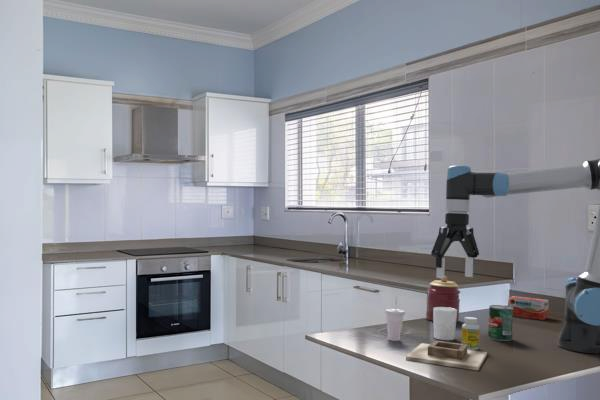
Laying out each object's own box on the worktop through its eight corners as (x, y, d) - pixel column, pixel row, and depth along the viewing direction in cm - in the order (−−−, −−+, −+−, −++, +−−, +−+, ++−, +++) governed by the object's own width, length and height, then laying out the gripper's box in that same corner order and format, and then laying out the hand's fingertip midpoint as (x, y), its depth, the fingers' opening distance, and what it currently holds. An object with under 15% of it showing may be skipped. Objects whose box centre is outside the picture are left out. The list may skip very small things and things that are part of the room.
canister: (462, 324, 232) (464, 278, 233) (429, 322, 233) (431, 276, 233) (454, 317, 245) (456, 274, 246) (422, 316, 246) (424, 273, 246)
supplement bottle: (473, 346, 194) (474, 316, 194) (481, 350, 189) (483, 319, 189) (458, 346, 193) (459, 316, 193) (466, 350, 188) (467, 319, 188)
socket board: (486, 355, 182) (487, 343, 182) (478, 370, 164) (478, 357, 164) (421, 346, 190) (421, 335, 190) (405, 359, 172) (406, 347, 172)
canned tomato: (483, 337, 208) (485, 306, 208) (493, 335, 214) (495, 304, 214) (505, 342, 203) (507, 309, 203) (515, 339, 208) (517, 307, 209)
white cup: (456, 341, 200) (457, 311, 200) (432, 339, 201) (433, 309, 201) (455, 337, 207) (456, 308, 207) (431, 335, 209) (433, 306, 209)
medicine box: (548, 318, 256) (549, 299, 256) (544, 320, 249) (545, 301, 250) (511, 313, 265) (512, 295, 265) (507, 315, 258) (507, 297, 258)
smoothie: (405, 339, 200) (407, 297, 200) (400, 342, 194) (402, 299, 194) (387, 336, 202) (388, 295, 202) (381, 340, 196) (383, 297, 197)
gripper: (473, 213, 208) (471, 275, 207) (421, 211, 194) (419, 277, 194) (491, 214, 201) (489, 277, 201) (439, 211, 188) (436, 279, 187)
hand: (454, 277), depth 197 cm, fingers open, 13 cm apart
